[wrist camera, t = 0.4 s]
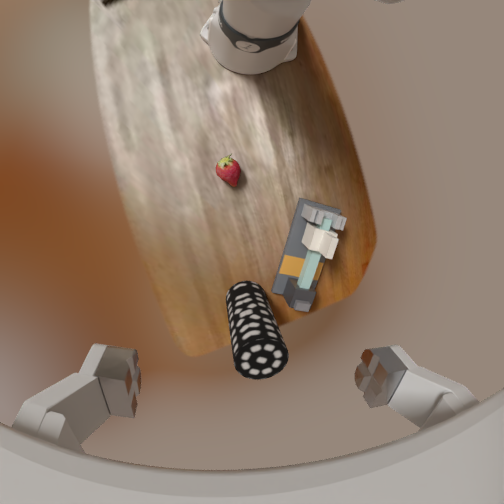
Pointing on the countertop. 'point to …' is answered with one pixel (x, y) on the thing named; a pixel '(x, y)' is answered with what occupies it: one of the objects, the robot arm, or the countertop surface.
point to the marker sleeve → (320, 240)
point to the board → (298, 249)
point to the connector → (298, 295)
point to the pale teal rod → (312, 260)
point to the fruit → (228, 170)
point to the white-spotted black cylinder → (254, 332)
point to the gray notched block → (317, 216)
